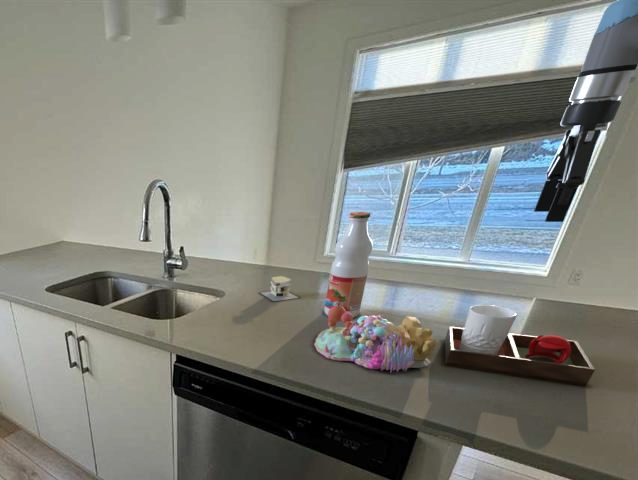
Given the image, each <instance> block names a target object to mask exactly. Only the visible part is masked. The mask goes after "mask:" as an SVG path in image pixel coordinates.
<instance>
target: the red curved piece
mask: <svg viewBox="0 0 638 480" xmlns="http://www.w3.org/2000/svg"><path fill="white" fill-rule="evenodd" d="M567 340H568V339H566V338H564V337H562V336H559V335H555V334H554V335H553V334H549V335H548V334H547V335H542V334H541V335H538V336H537V338H535V339H533V340H532V341H531V343H530V345H529V354H526V355H525V357H526V358H528V357H531V356H534V355H539V356H547V357H551V358H553V359H555V360H557V361H555V362H551V363H559V364H561V363H563V362H564V361H565V360H566V359H567V358H568V357H569V356H570V348H571V346H570V343H569V342H568V341H567ZM557 350H561V352H560V355H559V356H558V355H555V354H553V353H554V352H556V351H557Z"/></svg>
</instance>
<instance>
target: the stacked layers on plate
mask: <svg viewBox="0 0 638 480" xmlns="http://www.w3.org/2000/svg"><path fill="white" fill-rule="evenodd" d="M270 278H271V281H270V283H271V286H270V287H269V288H270V291H263V292H260V294H261V295H263V296H264V297H266V298H268V299H269V300H270V301H273V302H279V301H286V300H293V299H299V297H298V296H297V295H295V294H293V293H291V292H290V291H291V289H290V286H291V285H292V284H291V282H290V281H292V279H291V278H288V277H287V276H286V277H285V276H283V275H280V276H279V275H277V276H272V277H270Z"/></svg>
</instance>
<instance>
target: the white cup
mask: <svg viewBox="0 0 638 480" xmlns="http://www.w3.org/2000/svg"><path fill="white" fill-rule="evenodd" d="M517 316H518V312H517V311H516V310H514V309H512V308H510V307H505V306H501V305H495V304H494V305H493V304H475V305H472V306H470V307H469V310H468V312H467V316H466V320H465V323H464V326H463V328H464V330H463V334H462V337H461V343H460V346H459V350H463V351H470V352H478V353H485V354H492V355H497V353H498V351H499V349H500V346H501V345H502V344H503V342H504V340H505V338H506V337H507V335H508V333H510V330H511V328H512V326H513V325H514V323H515V321H516V318H517Z"/></svg>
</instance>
